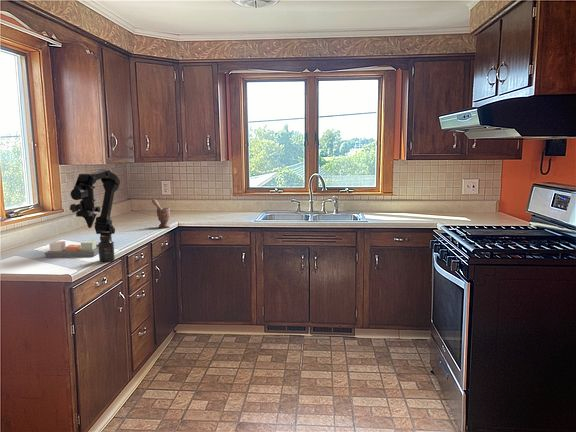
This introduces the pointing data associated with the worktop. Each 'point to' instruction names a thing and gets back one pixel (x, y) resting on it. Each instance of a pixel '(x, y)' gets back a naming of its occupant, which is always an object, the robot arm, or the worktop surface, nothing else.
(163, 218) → the mortar and pestle
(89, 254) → the console
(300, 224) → the worktop surface
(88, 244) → the sage button
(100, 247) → the supplement bottle
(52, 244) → the cream button
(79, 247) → the terracotta button
